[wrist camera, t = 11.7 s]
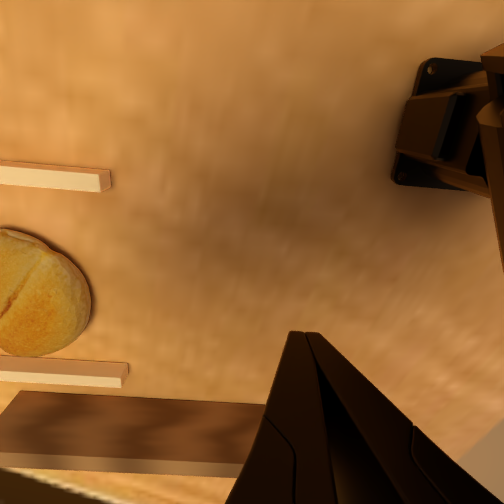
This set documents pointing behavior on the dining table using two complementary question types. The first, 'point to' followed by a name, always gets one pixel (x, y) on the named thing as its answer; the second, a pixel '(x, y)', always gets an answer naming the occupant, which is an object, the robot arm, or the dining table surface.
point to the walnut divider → (127, 434)
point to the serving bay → (46, 367)
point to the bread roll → (39, 297)
